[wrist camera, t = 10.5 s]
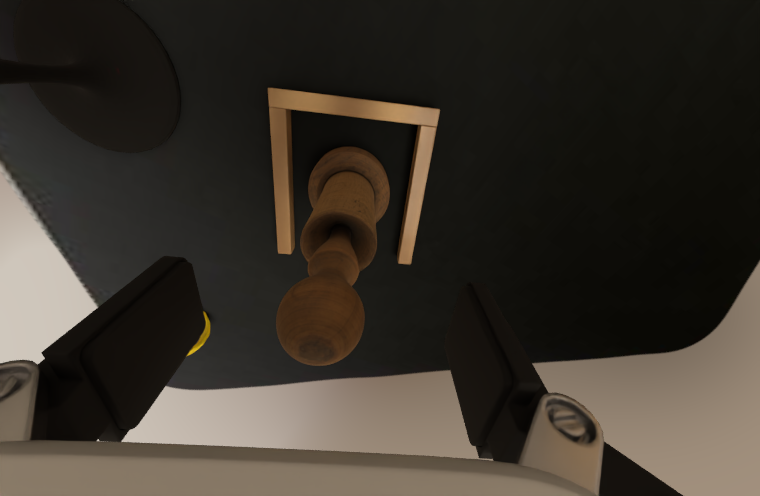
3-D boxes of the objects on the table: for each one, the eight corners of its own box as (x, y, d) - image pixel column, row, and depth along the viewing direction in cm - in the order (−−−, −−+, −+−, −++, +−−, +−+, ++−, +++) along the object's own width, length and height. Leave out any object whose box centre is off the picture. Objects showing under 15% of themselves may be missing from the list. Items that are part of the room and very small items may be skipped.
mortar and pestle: (404, 189, 25) (462, 354, 9) (351, 234, 27) (323, 436, 11) (350, 128, 23) (301, 208, 7) (296, 183, 24) (158, 347, 9)
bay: (436, 108, 22) (440, 109, 21) (408, 256, 28) (410, 264, 27) (274, 87, 21) (267, 87, 20) (282, 245, 27) (277, 253, 26)
